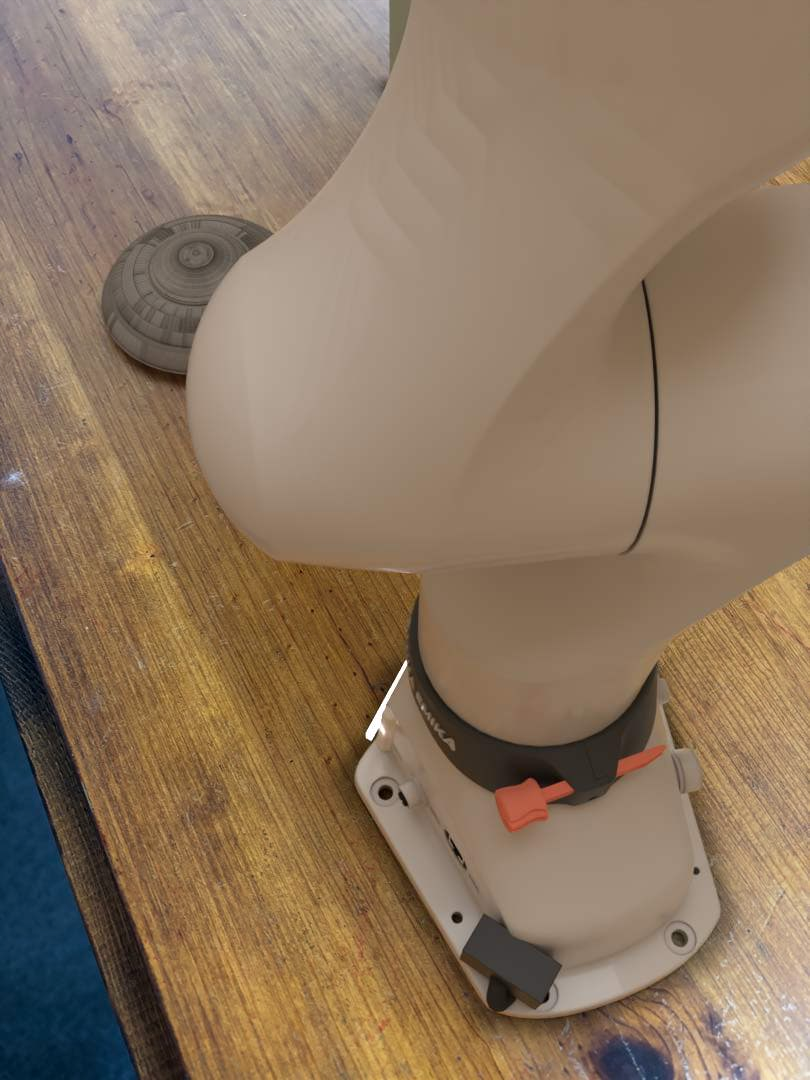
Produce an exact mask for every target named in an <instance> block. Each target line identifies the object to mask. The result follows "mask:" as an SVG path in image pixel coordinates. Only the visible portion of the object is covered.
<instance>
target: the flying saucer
mask: <svg viewBox="0 0 810 1080" xmlns="http://www.w3.org/2000/svg"><path fill="white" fill-rule="evenodd" d="M274 233H275V232H273V231H271V230H270V229H267V228H266V227H264V226H262V225H260V224H258V223H255V222H253V221H250V220H248V219H245V218H241V217H236V216H232V215H226V214H225V215H224V214H209V213H208V214H207V213H206V214H195V215H188V216H183V217H179V218H175V219H172V220H169V221H166V222H164V223H162V224H160V225H157V226H155V227H153V228H151V229H149V230H148V231H146V232H145V233H143V234H142V235H140V236H139V237H137V238H136V239H135V240H134V241H132V242H131V243H130V244H129V245H128V246H127V247H126V248H125V249H124V250H123V251H122V253H121V254H120V255H119V256H118V257H117V259H116V260H115V262H114V263H113V264H112V266H111V268H110V270H109V272H108V273H107V276H106V279H105V281H104V285H103V288H102V292H101V303H100V304H101V305H100V306H101V314H102V319H103V322H104V325H105V327H106V329H107V331H108V333H109V335H110V337H111V338H112V339H113V341H114V342H115V344H116V345H118V346H119V348H120V349H122V350H123V351H124V352H125V353H126V354H127V355H129V356H130V357H132V358H133V359H135V360H136V361H139V362H140V363H141V364H144V365H146V366H148V367H150V368H153V369H156V370H159V371H163V372H167V373H170V374H171V373H172V374H178V375H186V376H187V370H188V362H189V356H190V352H191V348H192V344H193V340H194V336H195V333H196V330H197V328H198V325H199V322H200V320H201V317H202V315H203V312H204V310H205V308H206V306H207V304H208V303H209V301H210V299H211V297H212V295H213V293H214V291H215V290H216V289H217V287H218V286H219V284H220V283H221V281H222V280H223V278H224V277H225V275H226V274H227V273H228V272H229V270H230V269H231V268H232V267H233V266H234V264H235V263H236V262H237V261H238V260H239V258H240V257H242V256H243V255H244V254H246V253H247V252H249V251H250V250H252V249H253V248H255V247H256V246H258V245H259V244H261V243H262V242H264V241H265V240H267V239H268V238H269V237H271V236H272V235H273V234H274Z"/></svg>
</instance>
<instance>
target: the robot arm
mask: <svg viewBox="0 0 810 1080" xmlns="http://www.w3.org/2000/svg"><path fill="white" fill-rule="evenodd" d="M809 158H810V0H412V1H411V7H410V12H409V16H408V20H407V25H406V29H405V33H404V37H403V40H402V43H401V46H400V50H399V53H398V55H397V58H396V61H395V63H394V66H393V68H392V71H391V74H390V73H389V76H388V79H387V81H386V85H385V87H384V90H383V92H382V94H381V96H380V98H379V100H378V102H377V104H376V106H375V107H374V109H373V111H372V114H371V115H370V118H369V120H368V122H367V123H366V125H365V126H364V128H363V130H362V131H361V132H360V135H359V137H358V138H357V139H356V141H355V143H354V145H353V147H352V148H351V149H350V151H349V153H348V154H347V155H346V156H345V158H344V159H343V161H342V162H341V163H340V165H339V166H338V168H337V169H336V171H335V172H334V173H333V174H332V175H331V177H330V178H329V180H327V182H326V183H325V184H324V185H323V187H321V189H319V191H318V192H317V193H316V194H315V195H314V196H313V198H312V199H311V200H310V201H309V202H308V203H307V204H306V205H305V206H304V207H303V208H302V209H300V211H299V212H297V214H296V215H294V216H293V217H292V218H291V219H290V220H289V221H288V222H286V223H285V224H284V225H283V226H282V227H281V228H279V229H278V230H277V231H275V232H273V233H274V234H273V235H272V236H271V237H269V238H268V239H267V240H265V241H264V242H262V243H261V244H259V245H258V246H256V247H255V248H253V249H252V250H250V251H249V252H247V253H246V254H244V255H243V256H242V257H240V258H239V260H238V261H237V262H236V263H235V264H234V266H233V267H232V268H231V269H230V270H229V272H228V273H227V274H226V275H225V277H224V278H223V280H222V281H221V283H220V284H219V286H218V287H217V289H216V290H215V291H214V293H213V295H212V297H211V299H210V301H209V303H208V304H207V306H206V308H205V310H204V312H203V315H202V317H201V320H200V322H199V325H198V328H197V330H196V333H195V336H194V340H193V344H192V348H191V352H190V356H189V362H188V370H187V375H186V377H185V378H186V379H185V412H186V421H187V427H188V432H189V436H190V442H191V446H192V449H193V454H194V456H195V459H196V461H197V464H198V466H199V469H200V472H201V474H202V477H203V479H204V481H205V483H206V485H207V487H208V489H209V490H210V492H211V494H212V496H213V498H214V499H215V501H216V502H217V504H218V506H219V507H220V508H221V510H222V511H223V513H224V514H225V515H226V517H227V518H228V519H229V520H230V521H231V523H232V524H233V525H234V526H235V527H236V529H237V530H238V531H239V532H240V533H241V534H242V535H243V536H244V537H245V538H246V539H248V541H250V543H252V544H253V545H254V546H255V547H256V548H257V549H259V550H260V552H261V551H262V553H264V554H265V555H267V556H268V557H269V558H270V559H271V560H274V561H275V562H276V561H277V562H285V563H294V564H300V565H301V564H302V565H310V566H321V567H328V568H329V567H330V568H339V569H346V570H347V569H348V570H349V569H350V570H357V571H358V570H359V571H360V570H361V571H373V572H387V573H399V574H411V575H419V591H418V594H417V596H416V598H415V601H414V605H413V607H412V610H411V612H410V616H409V620H408V623H407V629H406V630H407V631H406V637H405V661H404V663H403V665H402V667H401V669H400V671H399V672H398V674H397V676H396V678H395V680H394V682H393V683H392V685H391V687H390V688H389V690H388V692H387V694H386V696H385V698H384V699H383V701H382V703H381V705H380V707H379V709H378V710H377V712H376V714H375V716H374V718H373V719H372V722H371V723H370V725H369V727H368V729H367V730H366V732H365V738H366V739H368V740H369V741H372V740H373V738H374V737H375V734H376V733H377V735H376V737H375V738H374V740H373V742H372V743H371V744H370V745H369V746H368V748H367V749H366V751H364V753H363V755H362V757H361V758H360V759H359V761H358V763H357V766H356V768H355V771H354V777H353V783H354V787H355V789H356V792H357V794H358V795H359V797H360V799H361V800H362V802H363V804H364V805H365V807H366V809H367V810H368V812H369V814H370V816H371V817H372V820H374V822H375V825H376V826H377V828H378V829H379V831H380V833H381V834H382V836H383V837H384V839H385V841H386V843H387V844H388V846H389V848H390V849H391V851H392V853H393V855H394V856H395V858H396V860H397V861H398V863H399V865H400V866H401V867H402V870H403V871H404V873H405V875H406V877H407V878H408V880H409V881H410V883H411V885H412V887H413V888H414V890H415V892H416V893H417V895H418V897H419V898H420V900H421V902H422V903H423V905H424V907H425V909H426V910H427V912H428V913H429V915H430V917H431V919H432V921H433V922H434V924H435V926H436V927H437V929H438V930H439V933H440V934H441V936H442V938H443V939H444V941H445V942H446V944H447V946H448V948H449V949H450V951H451V953H452V954H453V956H454V958H455V959H456V961H457V962H458V965H459V966H460V968H461V970H462V972H464V974H465V976H466V978H467V980H468V982H469V983H470V985H471V986H472V988H473V989H474V991H475V993H476V994H477V997H478V998H479V999H480V1000H481V1001H482V1003H483V1005H484V1006H485V1007H486V1008H487V1009H488V1010H490V1011H491V1012H493V1013H497V1014H501V1015H504V1016H509V1017H513V1018H519V1019H532V1020H537V1019H538V1020H539V1019H555V1018H562V1017H568V1016H573V1015H577V1014H581V1013H584V1012H589V1011H592V1010H595V1009H598V1008H601V1007H604V1006H607V1005H610V1004H612V1003H615V1002H617V1001H620V1000H623V999H626V998H628V997H629V996H632V995H634V994H636V993H638V992H641V991H642V990H645V989H646V988H649V987H651V986H652V985H654V984H656V983H657V982H659V981H661V980H663V979H665V978H666V977H668V976H669V975H671V974H672V973H674V972H675V971H676V970H677V969H679V968H680V967H682V966H683V965H684V964H685V963H687V961H689V960H690V959H691V958H692V957H693V956H694V955H695V954H697V952H698V951H699V950H700V948H702V946H703V945H704V944H705V942H706V941H707V940H708V938H709V937H710V936H711V934H712V933H713V931H714V929H715V927H716V926H717V924H718V922H719V920H720V918H721V913H722V907H721V903H720V899H719V894H718V891H717V886H716V883H715V880H714V878H713V874H712V870H711V867H710V863H709V860H708V856H707V854H706V850H705V847H704V846H705V845H704V843H703V839H702V836H701V833H700V829H699V826H698V823H697V819H696V816H695V811H694V809H693V805H692V801H691V797H690V795H689V793H694V792H698V791H699V790H700V789H702V788H703V783H704V777H703V771H702V766H701V762H700V760H699V757H698V755H697V753H696V752H695V751H694V749H692V748H689V747H682V748H676V746H675V744H674V740H673V736H672V734H671V729H670V726H669V722H668V719H667V716H666V713H665V709H664V706H663V705H665V704H668V703H669V702H670V701H671V690H670V685H669V683H668V681H667V680H666V679H665V677H660V673H661V672H660V666H661V665H660V658H661V657H662V655H663V653H664V652H665V651H666V649H667V648H668V646H669V645H670V644H671V643H672V642H673V641H674V640H676V639H677V638H678V637H680V636H681V635H682V634H684V633H685V632H686V631H688V630H689V629H691V628H693V627H694V626H696V625H697V624H699V623H700V622H703V621H704V620H706V619H708V617H710V616H712V615H713V614H715V613H716V612H718V611H720V610H722V609H723V608H724V607H726V606H728V605H729V604H731V603H732V602H734V601H736V600H738V599H739V598H740V597H742V596H743V595H745V594H747V593H748V592H750V591H752V590H754V589H755V588H756V587H758V586H760V585H761V584H763V583H764V582H766V581H768V580H769V579H771V578H772V577H774V576H776V575H778V574H779V573H781V572H782V571H784V570H785V569H787V568H790V567H791V566H793V565H795V564H796V563H798V562H800V561H802V560H804V559H805V558H807V557H810V182H801V183H800V182H799V183H788V184H777V185H776V184H775V185H774V184H773V185H765V184H767V183H769V182H770V181H772V180H774V179H775V178H777V177H779V176H781V175H782V174H785V173H786V172H787V171H789V170H791V169H793V168H794V167H796V166H798V165H799V164H801V163H803V162H804V161H805V160H807V159H809ZM385 789H387V790H390V791H391V793H392V796H391V797H390V798H389V799H382V798H381V797H380V795H379V793H380V792H381V791H382V790H385ZM454 916H459V918H461V922H458V923H456V922H454V920H453V917H454ZM673 933H679V934H680V935H681V936H682V937H683V939H684V945H683V946H678V945H676V944H675V943H674V941H673V938H672V937H673ZM546 997H547V1000H546V1002H544V1001H545V999H546Z"/></svg>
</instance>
